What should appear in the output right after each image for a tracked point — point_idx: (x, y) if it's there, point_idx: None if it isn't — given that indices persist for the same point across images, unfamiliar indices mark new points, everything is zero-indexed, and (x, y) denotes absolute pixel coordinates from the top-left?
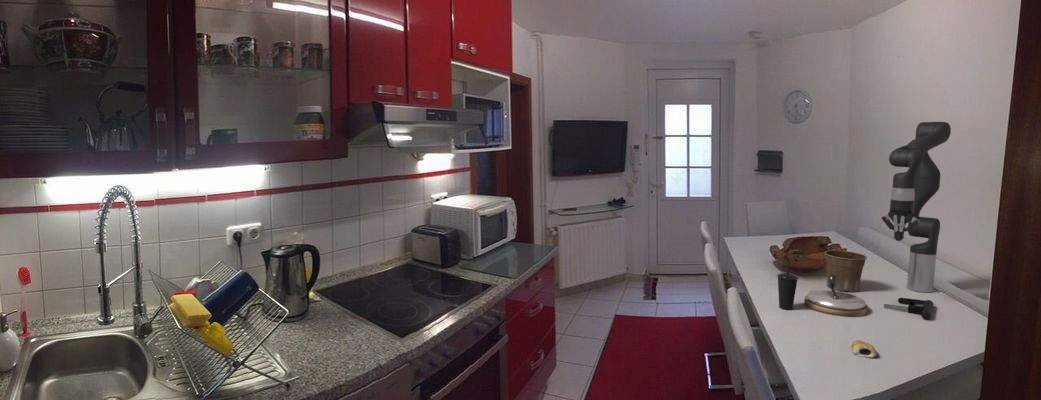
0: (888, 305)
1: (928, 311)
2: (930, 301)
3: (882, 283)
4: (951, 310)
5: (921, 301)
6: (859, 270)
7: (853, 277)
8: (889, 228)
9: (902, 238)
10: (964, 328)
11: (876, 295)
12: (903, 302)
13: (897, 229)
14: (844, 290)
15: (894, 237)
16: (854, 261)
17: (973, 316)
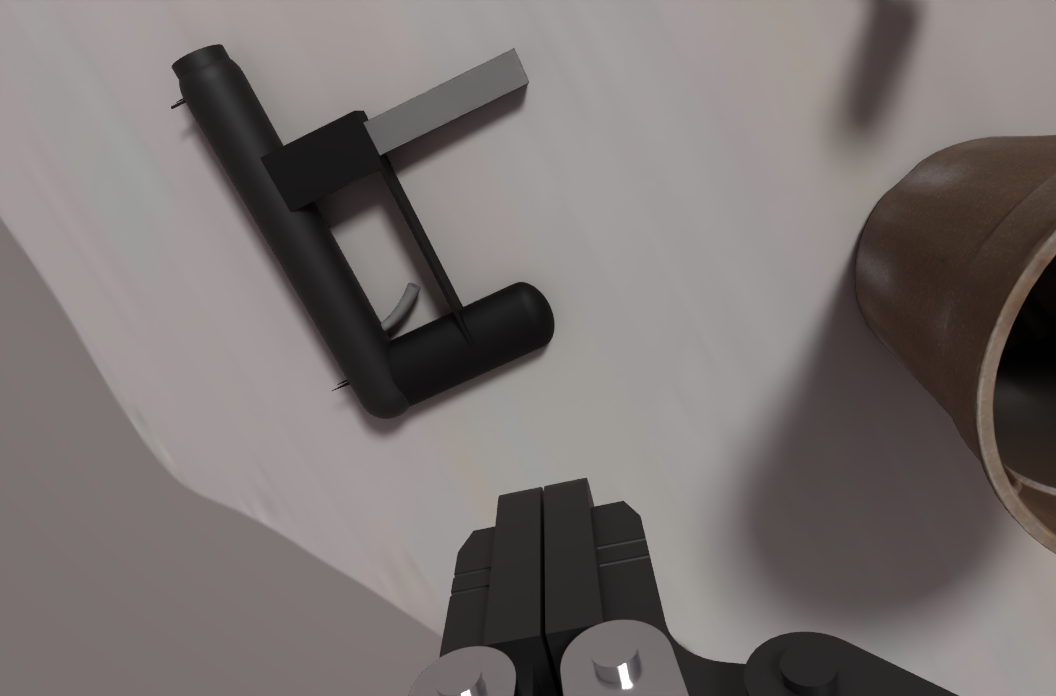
0: (483, 63)
1: (204, 114)
2: (360, 384)
3: (840, 627)
4: (290, 439)
5: (407, 355)
6: (935, 311)
7: (928, 235)
8: (847, 648)
9: (458, 559)
10: (12, 131)
11: (716, 318)
12: (500, 290)
13: (573, 693)
14: (915, 168)
15: (630, 521)
16: (1037, 241)
17: (167, 437)
